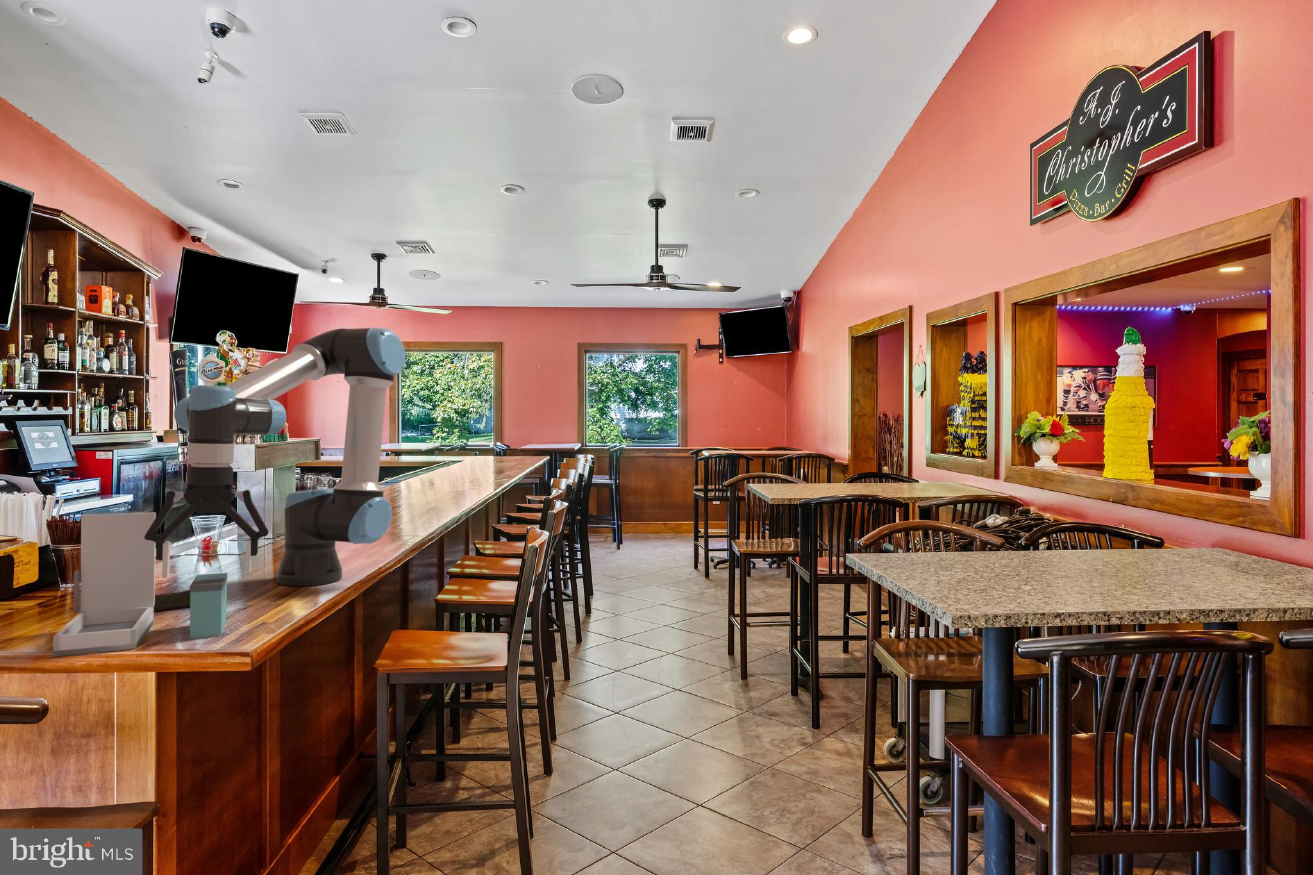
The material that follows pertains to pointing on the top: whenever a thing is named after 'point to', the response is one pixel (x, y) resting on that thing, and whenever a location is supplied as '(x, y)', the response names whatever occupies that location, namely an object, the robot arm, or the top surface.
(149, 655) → the top surface
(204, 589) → the block
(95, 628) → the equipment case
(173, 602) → the hand tool
